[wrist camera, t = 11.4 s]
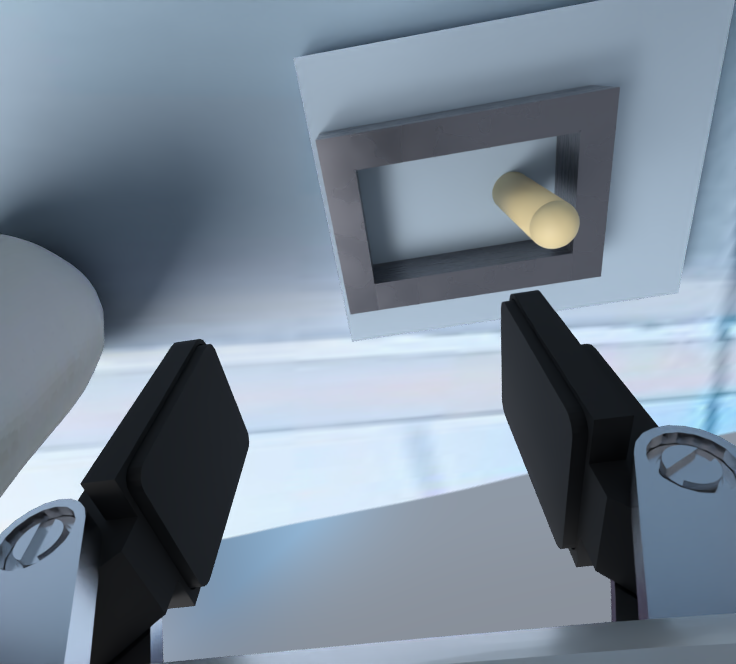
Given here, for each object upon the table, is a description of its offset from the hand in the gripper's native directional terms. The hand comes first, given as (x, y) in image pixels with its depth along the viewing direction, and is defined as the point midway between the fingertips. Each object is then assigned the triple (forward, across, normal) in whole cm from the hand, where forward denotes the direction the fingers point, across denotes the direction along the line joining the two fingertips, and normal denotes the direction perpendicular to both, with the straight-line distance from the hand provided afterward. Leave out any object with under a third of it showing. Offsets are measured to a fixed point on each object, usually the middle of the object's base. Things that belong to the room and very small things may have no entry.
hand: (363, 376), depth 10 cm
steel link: (+14, -5, 0) cm, 15 cm away
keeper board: (+16, -7, +1) cm, 18 cm away
